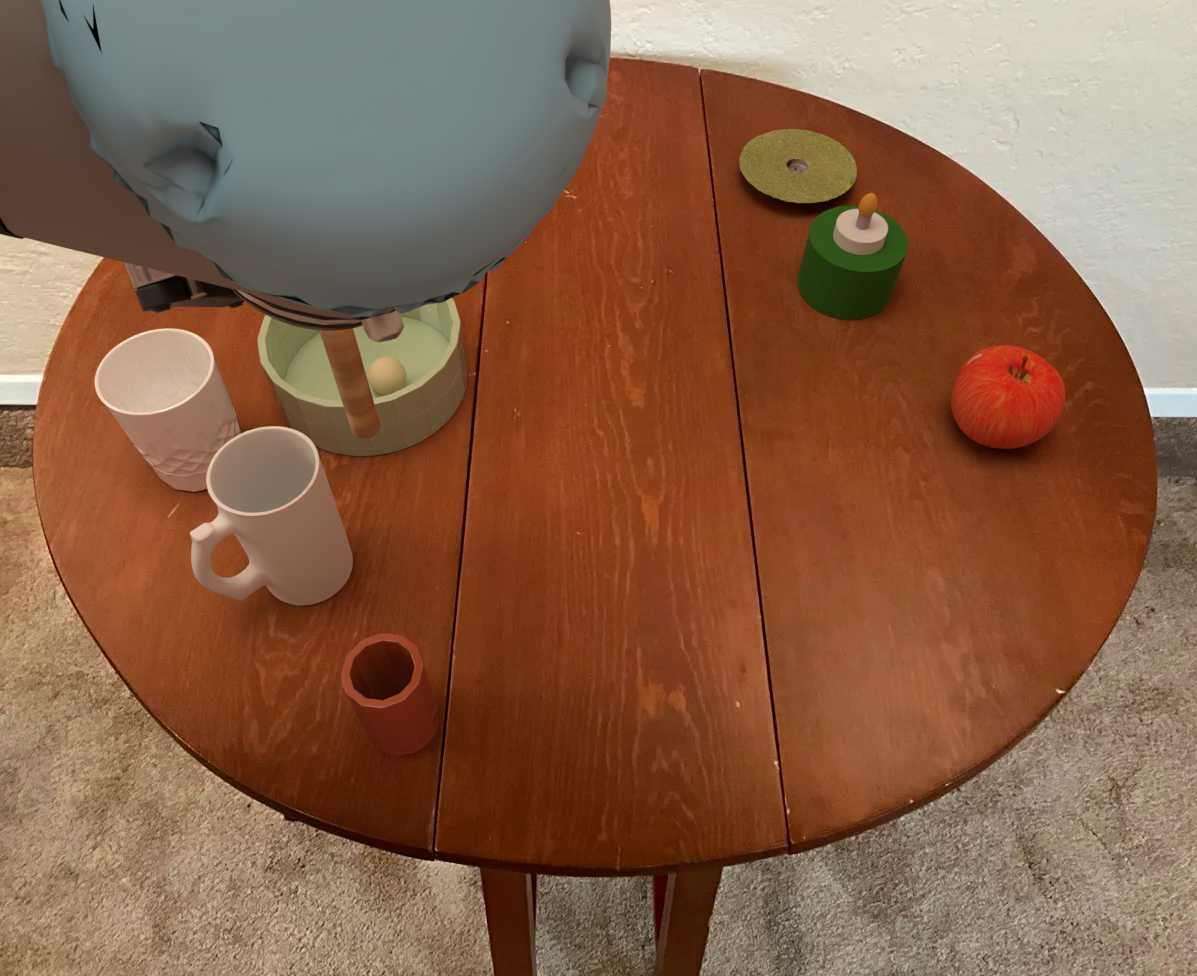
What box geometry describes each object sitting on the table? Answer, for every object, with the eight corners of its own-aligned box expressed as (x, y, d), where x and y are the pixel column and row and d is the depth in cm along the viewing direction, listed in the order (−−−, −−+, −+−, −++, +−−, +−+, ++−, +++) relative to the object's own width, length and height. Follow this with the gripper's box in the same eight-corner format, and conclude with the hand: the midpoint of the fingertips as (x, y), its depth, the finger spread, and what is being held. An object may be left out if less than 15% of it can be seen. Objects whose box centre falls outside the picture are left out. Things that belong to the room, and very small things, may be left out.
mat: (874, 177, 94) (879, 160, 93) (811, 235, 89) (815, 218, 88) (779, 131, 99) (782, 114, 97) (713, 183, 94) (715, 167, 92)
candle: (778, 282, 86) (798, 189, 78) (839, 241, 89) (865, 148, 81) (849, 334, 82) (878, 243, 74) (910, 290, 86) (945, 197, 77)
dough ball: (363, 390, 77) (356, 365, 75) (390, 368, 79) (383, 343, 76) (390, 408, 76) (384, 383, 74) (416, 385, 78) (411, 360, 75)
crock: (352, 727, 62) (324, 676, 55) (402, 674, 64) (381, 619, 58) (404, 770, 60) (382, 723, 54) (454, 714, 63) (438, 662, 56)
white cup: (221, 401, 77) (178, 311, 69) (274, 459, 74) (235, 373, 66) (130, 453, 74) (73, 366, 66) (181, 517, 71) (128, 434, 63)
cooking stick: (345, 429, 54) (254, 152, 39) (366, 412, 54) (284, 133, 40) (365, 444, 53) (281, 168, 38) (386, 426, 54) (311, 148, 39)
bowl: (239, 394, 78) (215, 343, 73) (373, 289, 85) (360, 236, 80) (374, 489, 73) (359, 440, 68) (505, 369, 80) (500, 317, 75)
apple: (921, 434, 76) (953, 366, 70) (965, 373, 80) (999, 303, 73) (1016, 485, 74) (1058, 419, 67) (1057, 419, 77) (1101, 351, 71)
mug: (317, 511, 71) (274, 408, 62) (377, 564, 69) (342, 465, 59) (202, 601, 67) (136, 505, 57) (262, 661, 65) (203, 572, 55)
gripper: (105, 402, 26) (193, 381, 48) (607, 251, 29) (471, 297, 51) (-15, 113, 24) (134, 231, 46) (533, -9, 27) (426, 155, 50)
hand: (312, 266), depth 49 cm, fingers closed on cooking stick, 1 cm apart
